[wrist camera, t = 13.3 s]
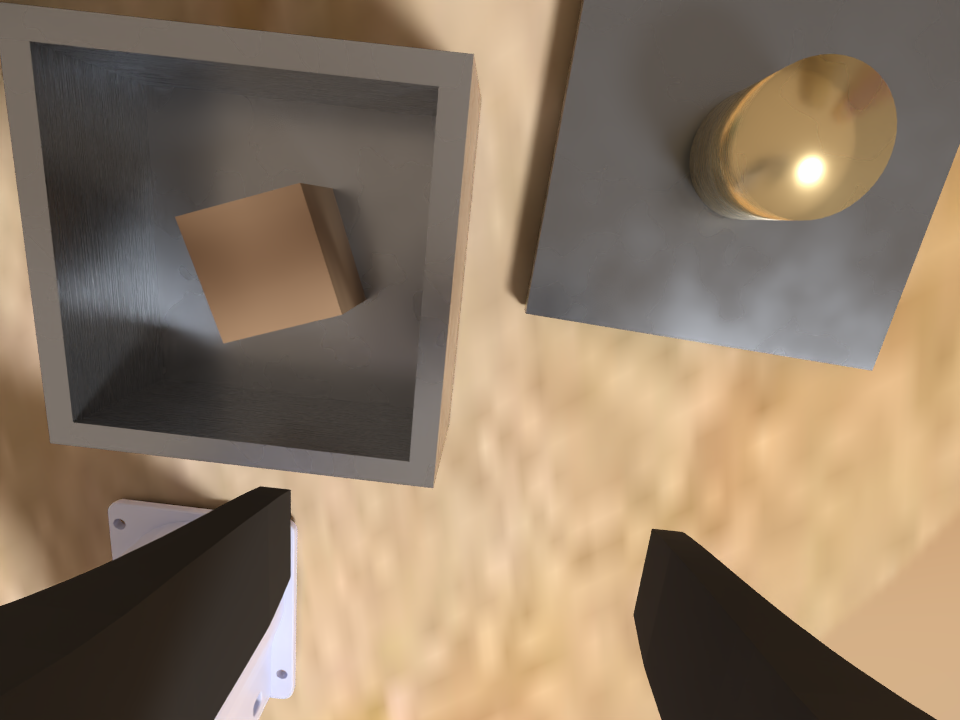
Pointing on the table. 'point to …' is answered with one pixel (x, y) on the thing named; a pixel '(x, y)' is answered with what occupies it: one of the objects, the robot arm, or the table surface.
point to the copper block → (273, 260)
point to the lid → (749, 170)
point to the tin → (221, 179)
